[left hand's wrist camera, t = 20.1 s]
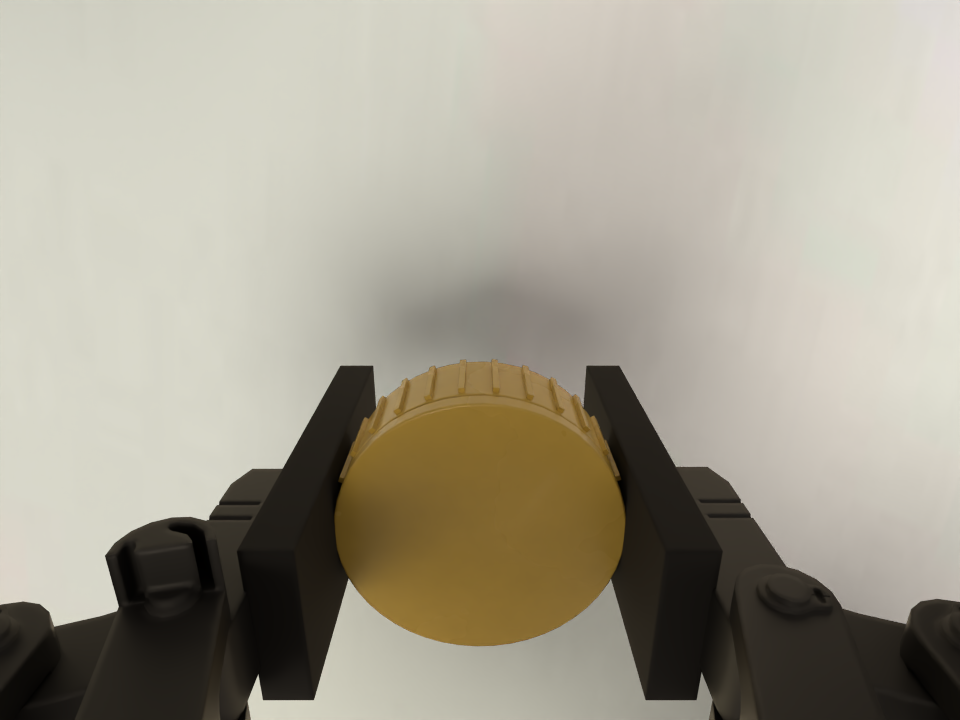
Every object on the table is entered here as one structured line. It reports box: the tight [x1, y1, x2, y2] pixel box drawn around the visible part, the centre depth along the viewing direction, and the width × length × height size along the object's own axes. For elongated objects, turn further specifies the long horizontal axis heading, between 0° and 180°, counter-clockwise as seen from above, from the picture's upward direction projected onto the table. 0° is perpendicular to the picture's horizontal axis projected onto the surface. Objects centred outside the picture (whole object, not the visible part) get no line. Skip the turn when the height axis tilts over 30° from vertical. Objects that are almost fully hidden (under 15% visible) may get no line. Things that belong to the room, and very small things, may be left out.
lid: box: [334, 359, 626, 646], centre depth 11 cm, size 5×5×2 cm
